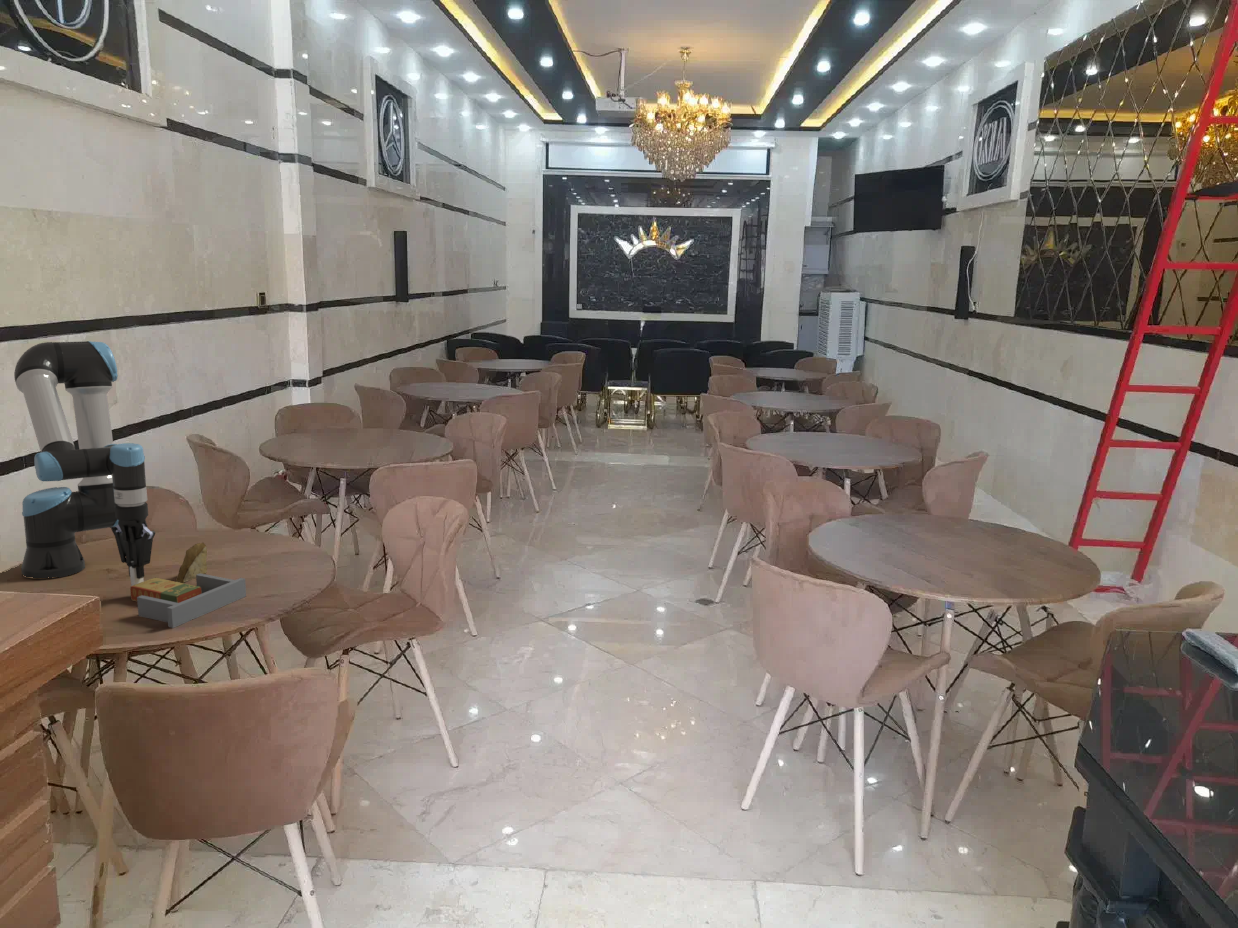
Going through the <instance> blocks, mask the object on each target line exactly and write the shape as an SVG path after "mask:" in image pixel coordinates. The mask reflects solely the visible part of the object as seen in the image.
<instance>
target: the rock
mask: <svg viewBox="0 0 1238 928" xmlns="http://www.w3.org/2000/svg"><path fill="white" fill-rule="evenodd" d="M207 557H208V548H207V545H206V543H204V542H203V541H202V542H201V543H200V542H199V543H198V542H197V543H195V544H193V545H192V546H191V547H190V548H188V549H186V550H185V556H184V558H183V562H182V564H181V565H180V567H179V569H178V574H177V576H176V579H175V582H179V583H184V584H185V583H187V582H189V581H191V580H194V579H196V575H197V574H200V573H201V574H207V573H208V567H207V559H208V558H207Z"/></svg>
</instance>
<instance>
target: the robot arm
mask: <svg viewBox="0 0 1238 928" xmlns="http://www.w3.org/2000/svg"><path fill="white" fill-rule="evenodd" d="M118 376H119V375H118V366H117V363H116V358H115V357H114V354H113V351H112V350H111V348H110V346H109V345H108V344H106V342H103V341H91V340H89V341H86V340H85V341H58V342H57V341H56V342H55V341H47V342H41V343H40V342H39V343H37V344H34V345H33V346H31V347H29V348H28V349H27V350H26V351H24V352H23V354H21V356H20V357H19V359H18V360H17V361H16V365H15V368H14V382H15V385H16V388H17V390H18V391H19V392H21V393H22V394H23V397H24V399H25V400H24V401H25V404H26V407H27V410H28V414H29V416H30V417H29V418H30V420H31V424H32V427H33V430H34V433H35V437H36V440H37V444H38V448H39V451H40V452H37V453H36V454H35V455H34V459H33V460H34V469H35V474H36V478H37V480H39V481H40V482H61V481H68V480H75V479H81V480H80V481H79V482H78V483H77V491H76V490H75V491H72V490H71V488H70V487H67V486H60V487H57V486H55V487H48V488H44V489H39V490H37V491H34V492H31V493H29V494H27V495H26V496H25V497H23V500H22V503H21V504H22V505H21V506H22V512H21V515H22V516H23V524H24V525H23V526H24V532H25V533H24V535H25V545H26V549H25V552H24V555H23V556H24V557H23V561H22V564H21V566H20V567H21V569H20V570H21V575H22V574H23V575H24V576H26V577H33V578H48V577H49V578H52V577H59V578H64V577H69V576H72V575H75V574H78V573H80V572H83V570H84V569H85V568H86V563H85V558H84V556H83V554H82V552H81V550H80V549H79V546H78V544H77V542H76V533H79V532H80V533H81V532H87V531H94V530H101V529H102V530H103V529H108V528H109V529H111V532H112V533H113V535H114V538H115V543H116V546H117V550H118V554H119V557H120V561H121V563H122V564H124V563H125V564H126V566H128V576H129V578H130V587H131V586H133V585H136V584H138V583H141V582H144V581H145V580H144V578H145V566H146V565H148V564H150V563H151V558H152V557H151V556H152V549H153V543H154V541H153V539H154V537H155V535H156V531H155V530H150V529H149V528H148V523H147V521H146V519H147V518H148V516H149V506H148V504H149V503H147V501H148V493H147V492H148V491H147V489H148V488H147V483H146V482H147V480H146V465H145V459H146V458H145V457H146V456H145V453H144V447H143V446H142V445H141V444H139V443H133V442H127V443H123V442H122V443H118V444H117V443H114V439H113V431H112V423H111V415H110V407H109V400H108V394H109V392H110V391H111V389H112V388H113V383H114V382H116V381H117V380H118ZM58 384H63V385H64V388H65V389H64V390H65V391H66V392H67V393H69V394H70V395H71V396H72V403H73V408H74V409H73V410H74V419H75V426H76V435H77V440H78V441H77V442H78V448H79V449H76V446H75V444H74V443H75V442H74V440H73V437H72V434H71V430H70V428H69V425H68V421H67V418H66V415H65V412H64V409H63V405H62V402H61V400H60V397H59V393H58V390H57V387H58ZM77 572H78V573H77ZM74 573H75V574H74ZM71 574H72V575H71ZM68 575H69V576H68ZM52 579H53V578H52Z"/></svg>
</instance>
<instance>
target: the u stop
mask: <svg viewBox="0 0 1238 928" xmlns="http://www.w3.org/2000/svg"><path fill="white" fill-rule="evenodd" d="M195 580H196V581H195V582H196V586H199V587H201V592H202V594H200V595H197V596H195V597H192V598H190V599H187V600H185V601H182V602H180V603H176V602H172V601H167V600H162V599H157V598H153V597H148V596H143V595H142V596H139V597H137V601H136V602H137V613H138V617H142V618H146V619H150V620H156V621H159V622H164V623H167V626H168V628H172V629H174V628H176V627H178V626H181V625H183V624H186V623H188V622H191V621H192V619H193V620H195V619H197V618H199V617H202V616H204V615H207V614H209V613H211V612H213V611H216V610H218V609H220V608H222V607H225V606H227V605H230V604H231V603H234V602H236V601H239V600H241V599H243V598H245V597H247V588H246V587H247V586H246V578H243V577H240V578H236V579H231V578H227V577H220V576H216V575H210V574H207V573H205V574H201V573H200V574H197V575H196V578H195Z"/></svg>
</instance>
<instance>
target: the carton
mask: <svg viewBox="0 0 1238 928" xmlns="http://www.w3.org/2000/svg"><path fill="white" fill-rule="evenodd" d="M129 589H130V599H131V601H134V602H137V597H139V596H142V595H143V596H148V597H153V598H157V599H162V600H167V601H172V602H176V603H180V602H182V601H185V600H187V599H190V598H192V597H195V596H197V595H200V594H202V592H201V587H199V586H197V585H193V584H189V583H185V582H184V583H180V582H176V581H173V580H168V579H164V578H159V577H153V578H150V579H147V580H144V582H141V583H138V584H136V585H133V586H131V585H130V588H129Z"/></svg>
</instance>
